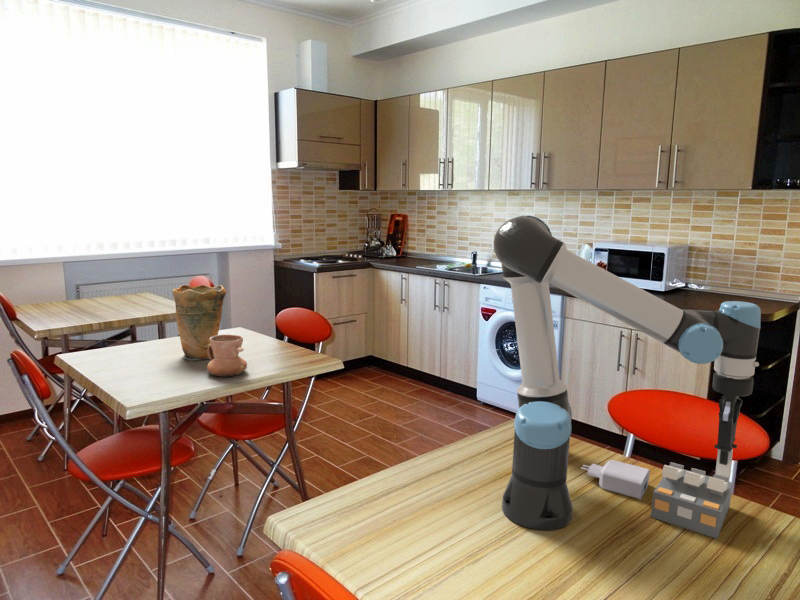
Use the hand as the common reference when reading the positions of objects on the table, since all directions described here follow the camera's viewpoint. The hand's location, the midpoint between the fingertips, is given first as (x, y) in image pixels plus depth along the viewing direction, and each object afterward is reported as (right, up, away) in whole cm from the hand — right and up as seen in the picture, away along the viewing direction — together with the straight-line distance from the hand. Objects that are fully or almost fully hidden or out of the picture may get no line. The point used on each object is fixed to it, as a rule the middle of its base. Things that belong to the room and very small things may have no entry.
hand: (722, 475), depth 128 cm
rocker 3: (-3, -1, -3) cm, 4 cm away
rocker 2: (-6, -1, -1) cm, 6 cm away
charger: (-20, -6, +13) cm, 25 cm away
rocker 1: (-10, 0, +2) cm, 10 cm away
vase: (-155, +15, +115) cm, 193 cm away
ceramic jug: (-138, +11, +92) cm, 166 cm away
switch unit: (-7, -8, +1) cm, 11 cm away
